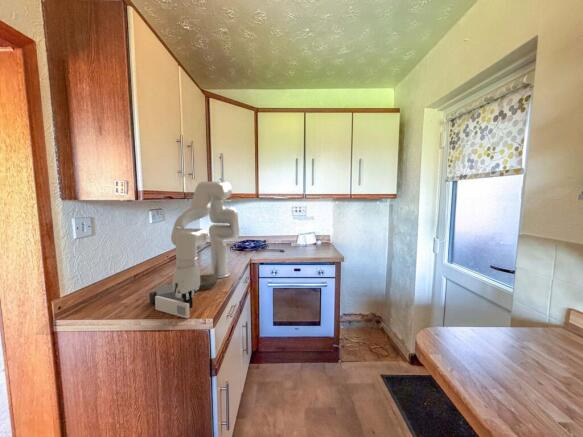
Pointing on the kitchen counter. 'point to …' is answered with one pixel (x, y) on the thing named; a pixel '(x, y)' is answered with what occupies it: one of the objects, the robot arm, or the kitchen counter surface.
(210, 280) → the marble piece
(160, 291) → the camera housing
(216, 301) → the kitchen counter surface
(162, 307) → the side door
